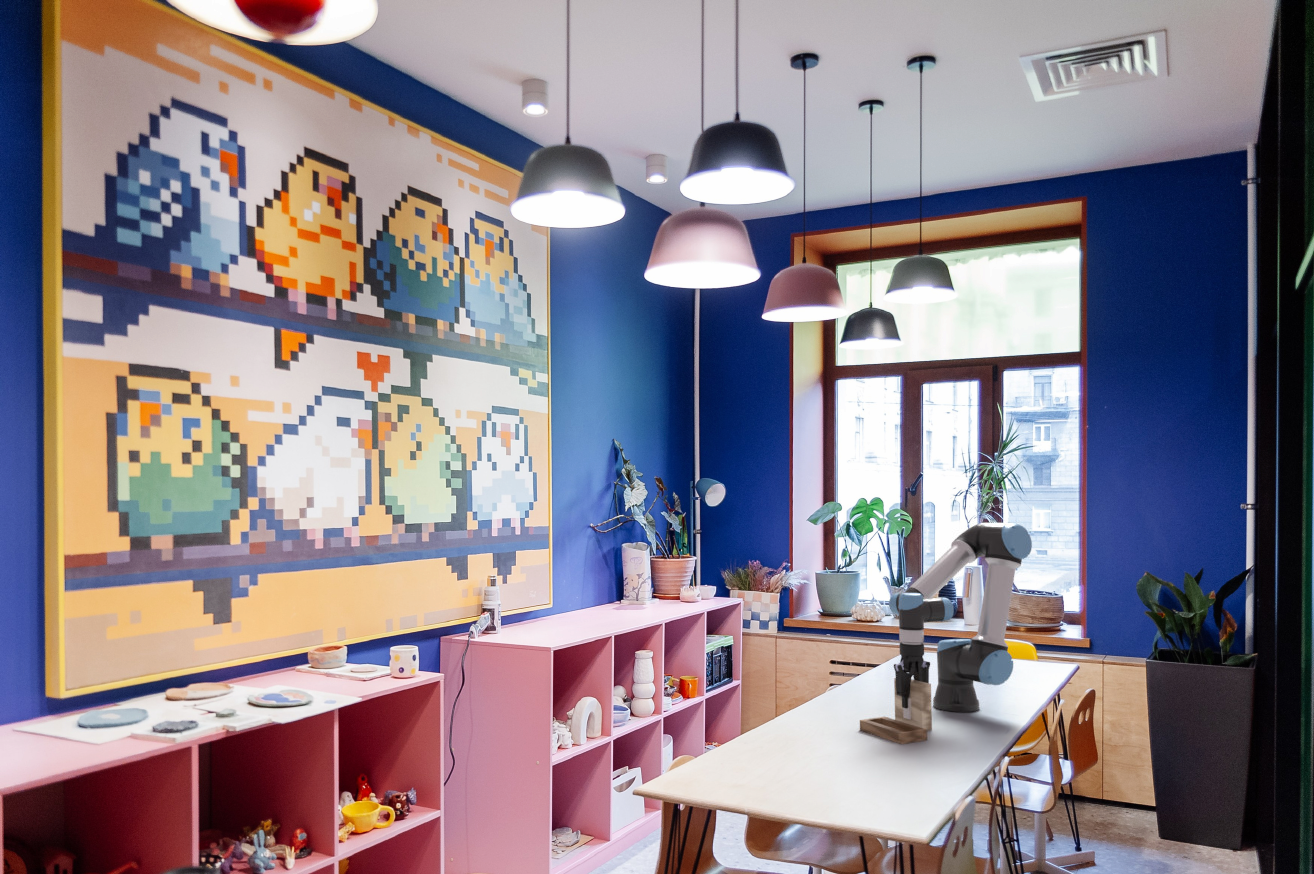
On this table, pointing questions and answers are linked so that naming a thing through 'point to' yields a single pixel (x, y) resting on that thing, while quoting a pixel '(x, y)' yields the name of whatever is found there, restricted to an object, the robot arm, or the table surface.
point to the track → (893, 730)
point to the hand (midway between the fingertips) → (913, 717)
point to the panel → (916, 705)
